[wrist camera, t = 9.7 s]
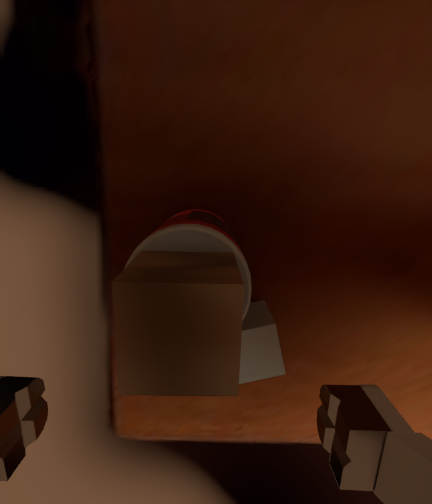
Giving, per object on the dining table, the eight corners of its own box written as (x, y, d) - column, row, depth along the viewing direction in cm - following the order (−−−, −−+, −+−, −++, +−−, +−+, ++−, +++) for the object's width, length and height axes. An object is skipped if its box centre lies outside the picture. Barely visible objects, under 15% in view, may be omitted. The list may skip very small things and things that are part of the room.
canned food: (153, 286, 27) (117, 351, 17) (156, 204, 26) (118, 218, 15) (231, 292, 28) (244, 359, 17) (239, 211, 26) (261, 230, 15)
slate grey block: (264, 299, 28) (275, 323, 23) (273, 342, 29) (285, 374, 24) (215, 310, 28) (216, 336, 23) (226, 352, 29) (229, 386, 25)
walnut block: (233, 252, 16) (244, 284, 11) (229, 334, 17) (238, 396, 12) (142, 250, 15) (111, 282, 11) (145, 333, 17) (119, 395, 12)
